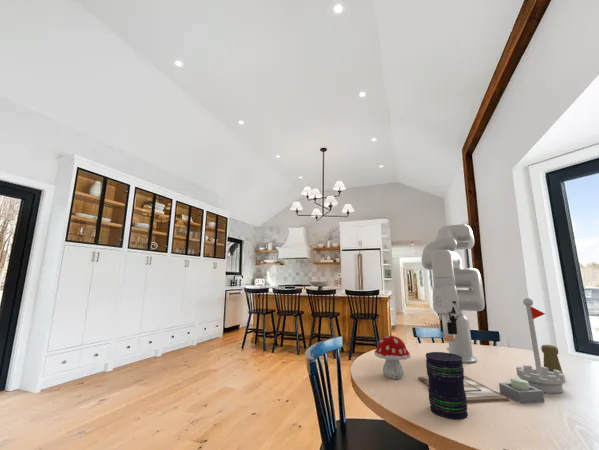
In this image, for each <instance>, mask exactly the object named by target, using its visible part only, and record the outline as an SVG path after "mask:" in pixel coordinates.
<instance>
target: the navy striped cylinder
mask: <svg viewBox="0 0 599 450" xmlns="http://www.w3.org/2000/svg"><path fill="white" fill-rule="evenodd" d="M425 358H426V359H425V362H426V363H425V365H426V374H427V376H428V378H429V386H428V388H427V389H428V400H429V405H430V406H429V409H430V412H431V413H432V414H434V415H435V416H437V417H439V416H440V418H442V417H443V418H442V419H446V420H451V419H452V420H451V421H461V420H460V419H463V420H466V419H467V418H468V417H469V413H468V403H467V400H466V393H465V391H464V381H463V380H464V376H465V374H464V373H465V370H464V364H463V363H462V357H461V356H459V355H456V354H451V353H449V352H442V351H431V352H427V353H426V354H425ZM467 416H468V417H467ZM465 418H466V419H465Z"/></svg>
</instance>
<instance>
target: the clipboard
mask: <svg viewBox="0 0 599 450" xmlns="http://www.w3.org/2000/svg"><path fill="white" fill-rule="evenodd" d="M417 379H418V380H419V381H420V382H422V383H423V384H425V385H426V386H428V387H429V378H428V375H427V376H426V375H425V376H418V377H417ZM463 381H464V391H465V393H466V400H467V404H471V403H489V402H490V403H491V402H493V403H494V402H509V401H510V398H509V397H507V396H505V395H503V394H501V393H500V392H498V391H496V390H495V389H493V388H490V387H488V386H486V385H484V384H482V383H480V382H478V381H476V380H474V379H472V378H470V377H468V376H466V375H464V380H463Z"/></svg>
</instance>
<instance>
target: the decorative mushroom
mask: <svg viewBox="0 0 599 450" xmlns="http://www.w3.org/2000/svg"><path fill="white" fill-rule="evenodd" d="M374 356H375V357H377V358H379V359H384V360H385V361H384V364H383V366H382V373H383V375H384V377H385V378H388V379H392V380H400V379H403V377H404V375H405V372H404V367H403V366H402V363H401V362H400V361H402V360H403V361H404V360H407V359H410V358H411V356H412V355H411V353H410V352H409V351H408V349H407V347H406V343H404V341H403V340H402V339H401V338H400V337H397V336H395V335H386V336H384V337H382V338H381V339H380V340H379V341H378V344H377V347H376V349H375V350H374Z"/></svg>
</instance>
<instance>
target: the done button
mask: <svg viewBox="0 0 599 450" xmlns="http://www.w3.org/2000/svg"><path fill="white" fill-rule="evenodd" d="M510 383H511V386H512V388H515V389H517V390H519V391H522V390H529V383H528V381H526V380H522V379H521V378H510Z"/></svg>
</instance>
